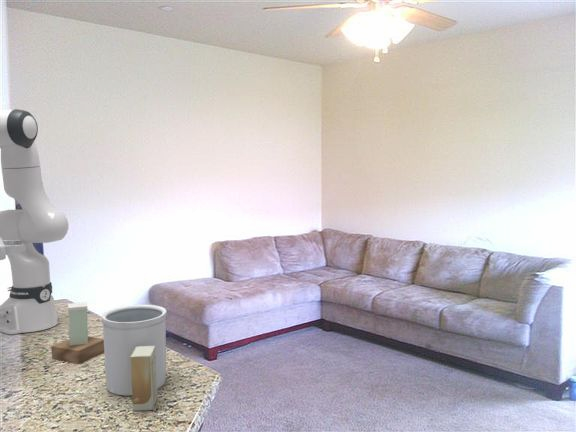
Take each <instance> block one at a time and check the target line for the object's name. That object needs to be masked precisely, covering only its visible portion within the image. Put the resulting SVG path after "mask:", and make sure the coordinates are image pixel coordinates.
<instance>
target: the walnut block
mask: <svg viewBox="0 0 576 432" xmlns="http://www.w3.org/2000/svg"><path fill="white" fill-rule="evenodd" d="M50 348H51V359H52V360H55V361H61V362H65V363H71V364H72V363H73V364H75V365H80V364H83V363H85V362H87V361H90V360H92V359H94V358H97V357H98V356H100V355H104V338H101V337H95V336H89V335H88V344H81V345H73V346H70V340H69V339H67V340H64V341H61V342H58V343H57V344H54V345H51V347H50Z"/></svg>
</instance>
